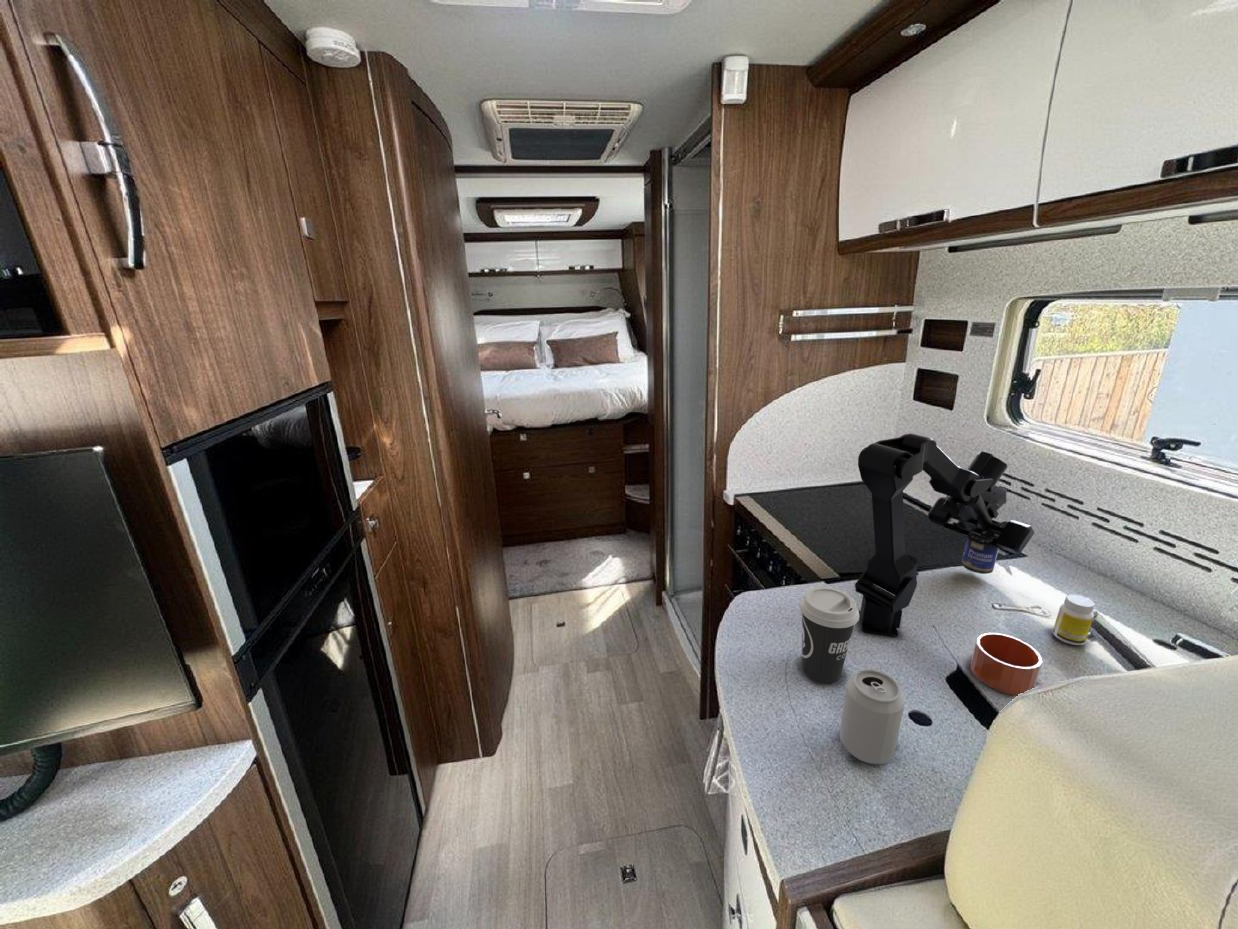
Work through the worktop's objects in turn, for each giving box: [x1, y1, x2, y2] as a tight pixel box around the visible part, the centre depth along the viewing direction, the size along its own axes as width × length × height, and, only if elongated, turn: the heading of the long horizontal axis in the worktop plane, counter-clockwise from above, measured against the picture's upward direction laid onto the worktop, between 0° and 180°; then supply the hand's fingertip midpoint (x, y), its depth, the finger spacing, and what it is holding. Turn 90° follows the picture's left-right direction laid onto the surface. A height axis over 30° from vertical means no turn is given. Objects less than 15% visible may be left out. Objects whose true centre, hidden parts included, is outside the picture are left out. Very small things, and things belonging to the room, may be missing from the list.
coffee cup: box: [798, 586, 860, 685], centre depth 87 cm, size 10×10×15 cm
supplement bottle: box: [1052, 594, 1095, 646], centre depth 94 cm, size 5×5×8 cm
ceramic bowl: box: [970, 632, 1043, 696], centre depth 86 cm, size 9×9×6 cm
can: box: [839, 668, 906, 765], centre depth 73 cm, size 8×8×12 cm
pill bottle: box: [961, 525, 1000, 575], centre depth 113 cm, size 6×6×11 cm
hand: (986, 540), depth 113 cm, fingers closed on pill bottle, 6 cm apart
